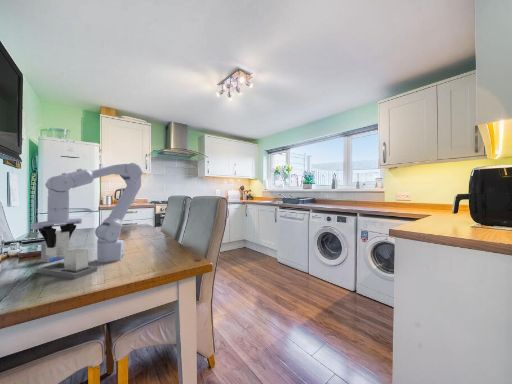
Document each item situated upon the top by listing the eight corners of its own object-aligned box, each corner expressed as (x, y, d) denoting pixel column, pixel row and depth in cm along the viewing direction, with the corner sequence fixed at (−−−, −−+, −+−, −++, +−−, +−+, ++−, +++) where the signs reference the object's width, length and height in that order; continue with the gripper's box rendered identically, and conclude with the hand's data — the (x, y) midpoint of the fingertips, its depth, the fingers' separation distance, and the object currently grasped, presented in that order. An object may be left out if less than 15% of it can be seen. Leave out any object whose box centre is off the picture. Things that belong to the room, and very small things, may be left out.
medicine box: (48, 262, 87) (49, 242, 87) (40, 262, 88) (40, 241, 88) (69, 257, 95) (69, 238, 95) (61, 256, 96) (61, 237, 96)
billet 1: (45, 255, 75) (45, 232, 75) (58, 252, 79) (58, 230, 79) (56, 256, 74) (56, 233, 74) (69, 253, 78) (69, 231, 78)
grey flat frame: (35, 275, 74) (36, 268, 74) (60, 268, 81) (60, 261, 81) (74, 282, 69) (74, 274, 69) (96, 273, 76) (97, 266, 76)
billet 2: (64, 274, 73) (64, 251, 73) (76, 270, 77) (77, 248, 77) (75, 276, 71) (76, 252, 71) (88, 272, 75) (88, 249, 75)
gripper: (72, 207, 85) (72, 240, 85) (24, 209, 71) (24, 250, 71) (85, 207, 83) (85, 242, 83) (38, 210, 69) (38, 252, 69)
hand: (58, 246), depth 77 cm, fingers closed on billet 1, 4 cm apart
